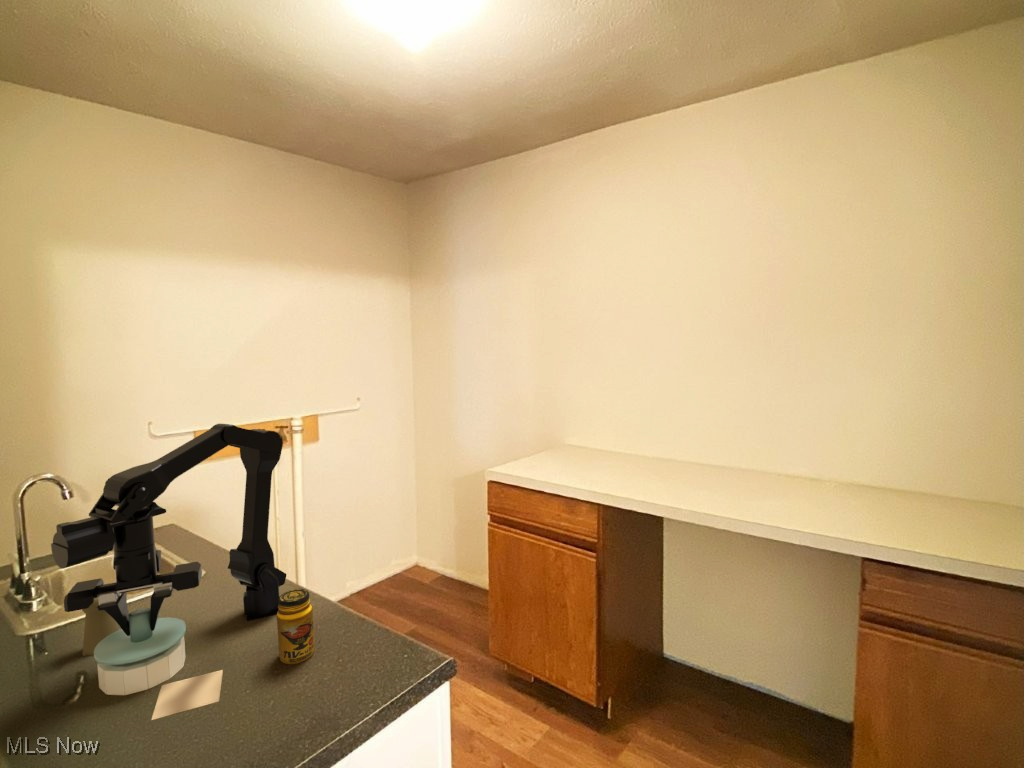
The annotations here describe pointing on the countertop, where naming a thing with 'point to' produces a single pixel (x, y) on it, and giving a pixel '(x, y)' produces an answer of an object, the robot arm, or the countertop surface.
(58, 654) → the countertop surface
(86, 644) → the pepper shaker
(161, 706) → the plate
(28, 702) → the countertop surface
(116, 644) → the lid
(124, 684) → the bowl
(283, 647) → the condiment
